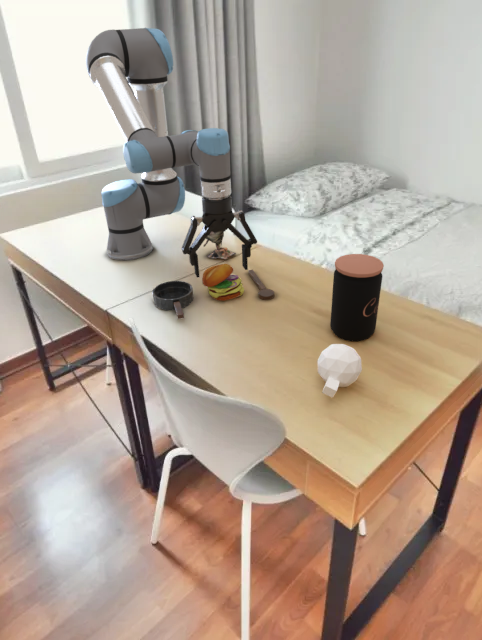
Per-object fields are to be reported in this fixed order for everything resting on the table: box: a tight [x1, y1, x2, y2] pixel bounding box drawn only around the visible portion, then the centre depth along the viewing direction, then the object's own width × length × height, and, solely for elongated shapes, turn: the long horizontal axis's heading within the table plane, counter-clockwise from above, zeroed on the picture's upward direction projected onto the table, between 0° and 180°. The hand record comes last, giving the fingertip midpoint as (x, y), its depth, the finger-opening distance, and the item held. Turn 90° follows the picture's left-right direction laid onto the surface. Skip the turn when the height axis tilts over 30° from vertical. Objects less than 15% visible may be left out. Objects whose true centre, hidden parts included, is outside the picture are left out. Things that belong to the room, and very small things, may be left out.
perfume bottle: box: [316, 343, 363, 398], centre depth 93 cm, size 9×9×12 cm
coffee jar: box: [329, 253, 385, 343], centre depth 107 cm, size 11×11×18 cm
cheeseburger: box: [201, 263, 245, 302], centre depth 129 cm, size 10×11×10 cm
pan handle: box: [173, 301, 185, 320], centre depth 120 cm, size 7×2×3 cm, turn 16°
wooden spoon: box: [248, 269, 275, 301], centre depth 134 cm, size 17×4×1 cm, turn 16°
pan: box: [151, 280, 195, 311], centre depth 128 cm, size 11×11×4 cm
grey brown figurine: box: [203, 231, 237, 260], centre depth 149 cm, size 8×11×20 cm
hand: (221, 271), depth 127 cm, fingers open, 13 cm apart
